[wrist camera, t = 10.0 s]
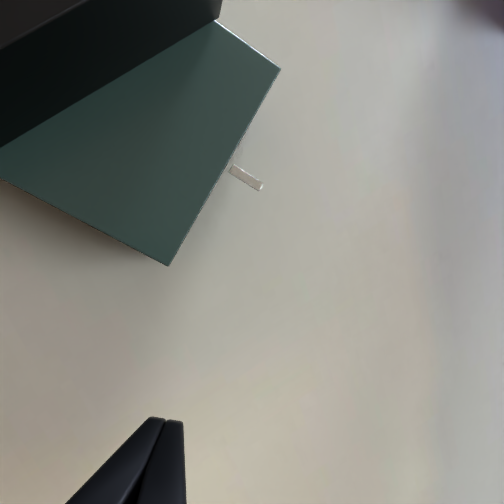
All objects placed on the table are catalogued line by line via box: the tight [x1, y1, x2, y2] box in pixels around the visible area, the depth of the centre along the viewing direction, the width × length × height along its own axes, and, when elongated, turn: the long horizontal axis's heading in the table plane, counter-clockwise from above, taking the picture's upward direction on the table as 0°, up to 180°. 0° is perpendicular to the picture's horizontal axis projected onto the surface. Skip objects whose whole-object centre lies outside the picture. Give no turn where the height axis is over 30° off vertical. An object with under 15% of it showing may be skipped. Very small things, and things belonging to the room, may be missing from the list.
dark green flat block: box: [0, 20, 281, 266], centre depth 14 cm, size 15×15×4 cm
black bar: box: [0, 0, 222, 148], centre depth 10 cm, size 11×2×5 cm, turn 125°
